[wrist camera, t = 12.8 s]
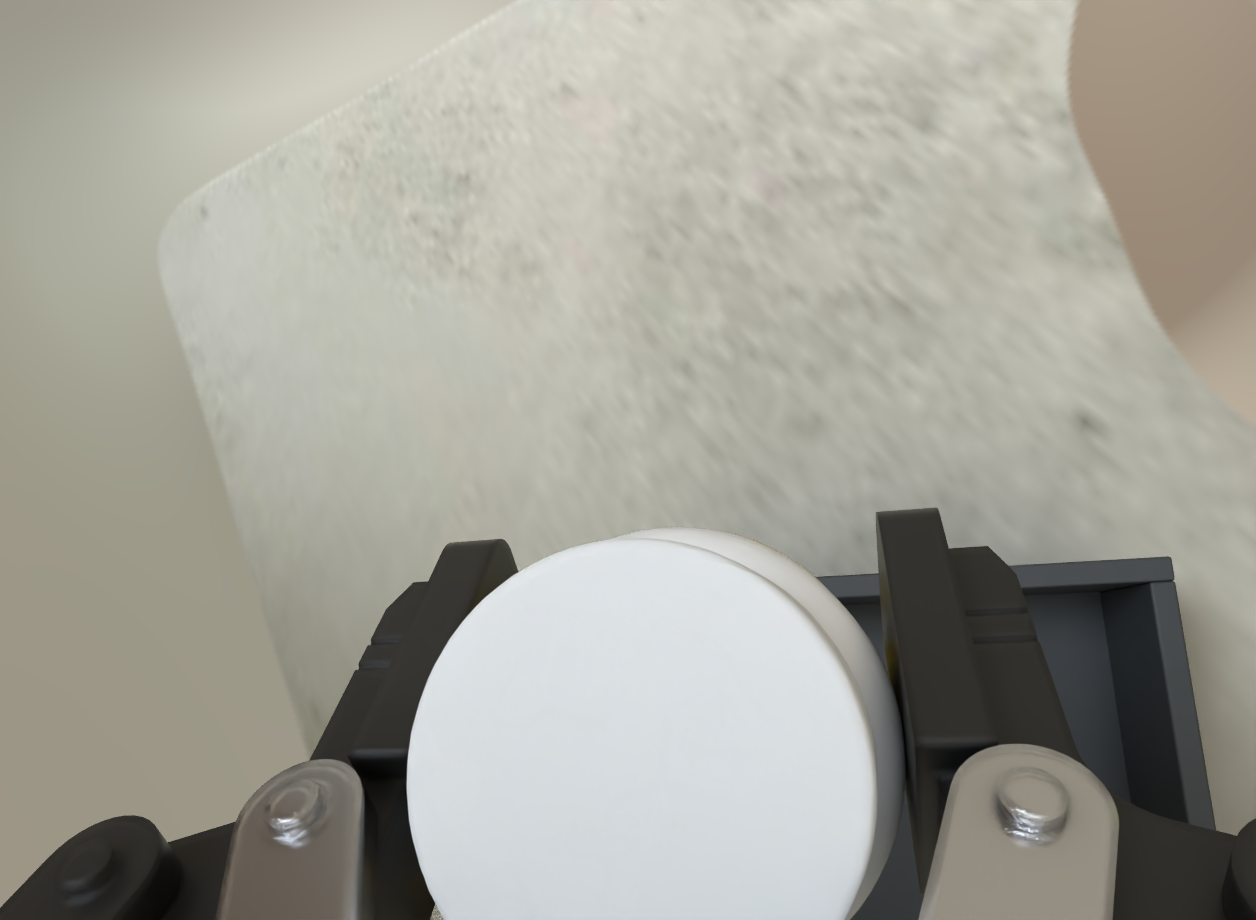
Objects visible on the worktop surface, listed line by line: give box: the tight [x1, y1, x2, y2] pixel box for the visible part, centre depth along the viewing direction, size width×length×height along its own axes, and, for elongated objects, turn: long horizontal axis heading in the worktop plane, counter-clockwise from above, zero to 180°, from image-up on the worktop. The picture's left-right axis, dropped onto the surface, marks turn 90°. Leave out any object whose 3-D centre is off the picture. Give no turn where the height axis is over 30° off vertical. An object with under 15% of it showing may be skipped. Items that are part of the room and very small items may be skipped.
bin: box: [816, 557, 1216, 920], centre depth 25 cm, size 13×13×5 cm
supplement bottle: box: [407, 527, 906, 920], centre depth 11 cm, size 5×5×8 cm
